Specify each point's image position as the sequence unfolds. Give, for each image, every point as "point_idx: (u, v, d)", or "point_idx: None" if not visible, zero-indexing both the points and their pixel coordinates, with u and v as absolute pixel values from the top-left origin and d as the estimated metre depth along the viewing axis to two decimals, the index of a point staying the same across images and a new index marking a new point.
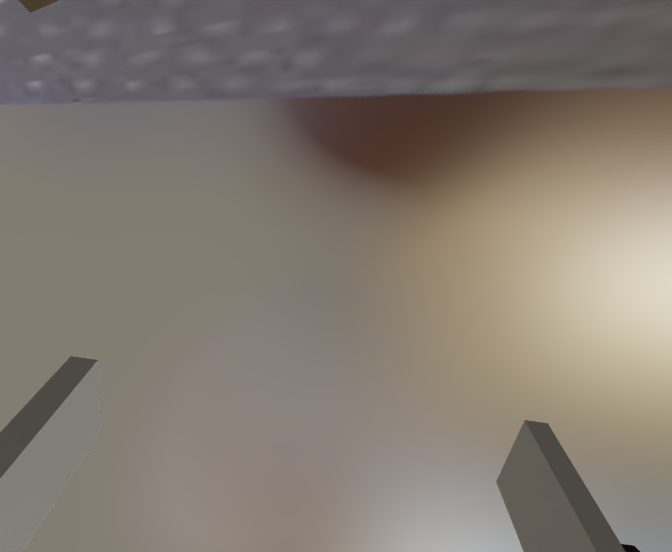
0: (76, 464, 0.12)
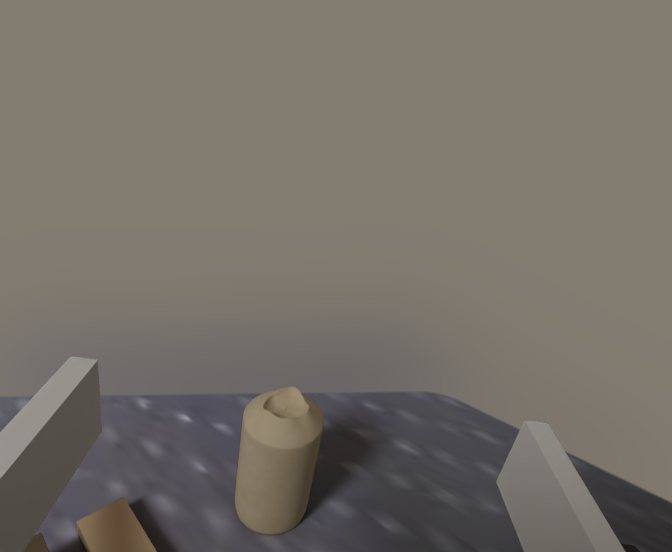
0: (76, 464, 0.12)
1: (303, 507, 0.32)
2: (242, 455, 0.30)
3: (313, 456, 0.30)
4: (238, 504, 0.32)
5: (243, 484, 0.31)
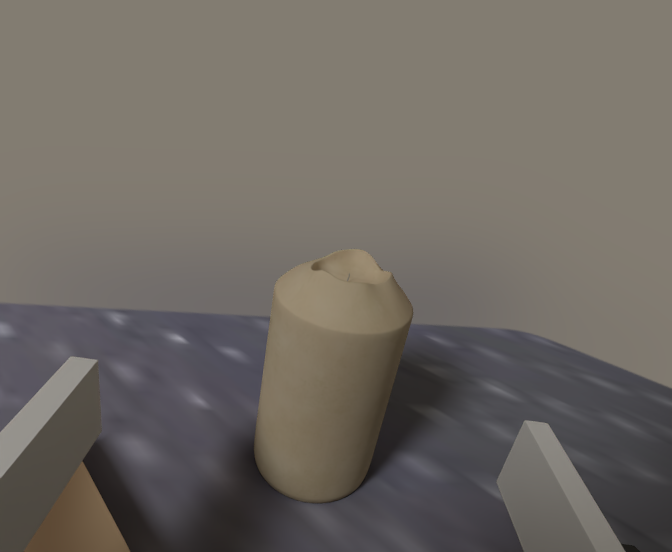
0: (76, 464, 0.12)
1: (369, 458, 0.19)
2: (271, 359, 0.17)
3: (396, 362, 0.17)
4: (261, 450, 0.19)
5: (271, 412, 0.18)
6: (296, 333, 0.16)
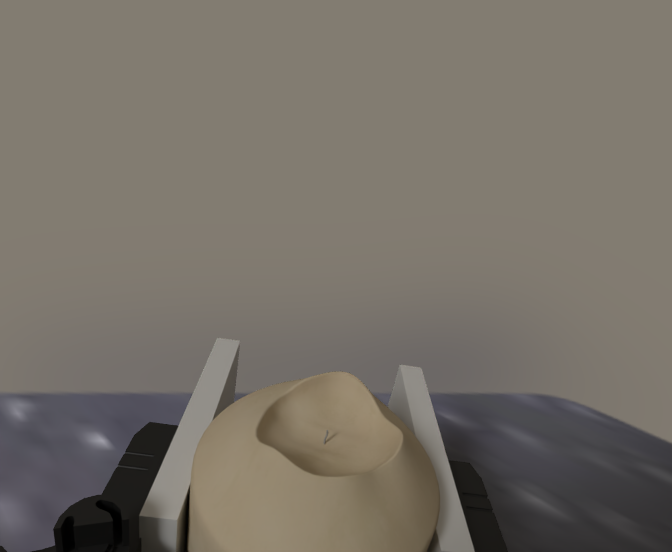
0: None
1: None
2: None
3: None
4: None
5: None
6: None
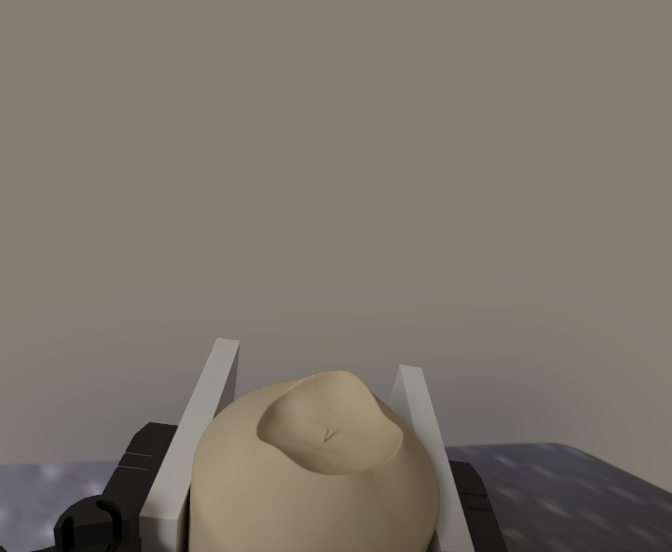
0: None
1: None
2: None
3: None
4: None
5: None
6: None
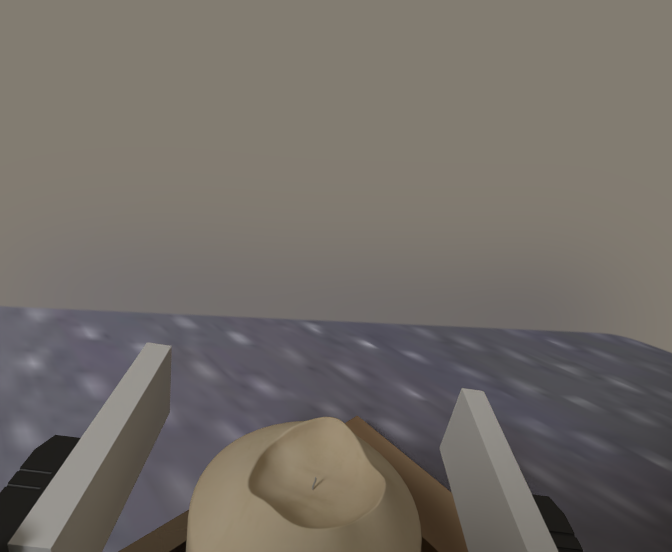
0: (153, 440, 0.14)
1: None
2: None
3: None
4: None
5: None
6: None
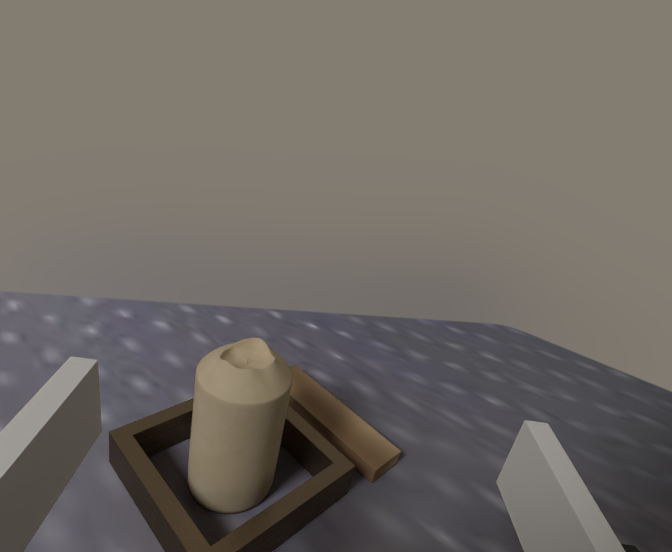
0: (76, 464, 0.12)
1: (267, 482, 0.27)
2: (194, 415, 0.25)
3: (279, 418, 0.25)
4: (190, 477, 0.27)
5: (195, 451, 0.26)
6: (207, 402, 0.24)
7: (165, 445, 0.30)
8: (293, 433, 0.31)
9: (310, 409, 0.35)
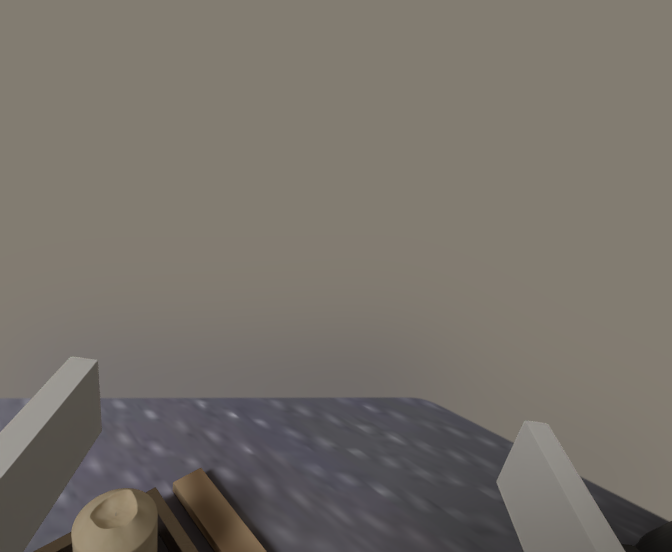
0: (76, 464, 0.12)
1: None
2: None
3: None
4: None
5: None
6: None
7: None
8: (177, 549, 0.37)
9: (202, 518, 0.41)
